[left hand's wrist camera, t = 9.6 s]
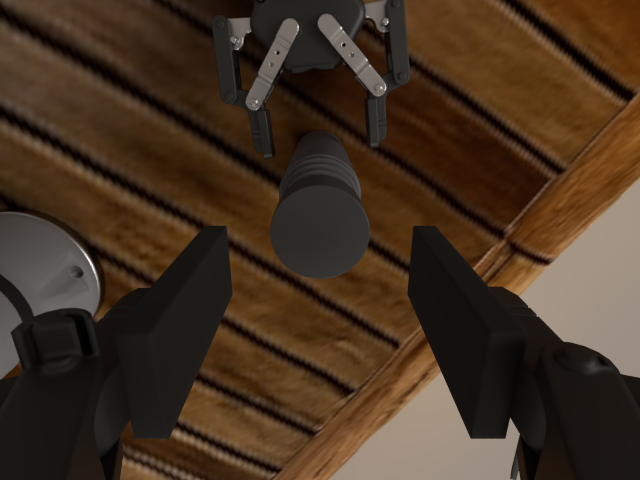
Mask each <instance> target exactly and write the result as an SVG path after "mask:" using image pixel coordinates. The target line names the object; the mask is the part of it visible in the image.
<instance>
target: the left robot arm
mask: <svg viewBox="0 0 640 480" xmlns="http://www.w3.org/2000/svg"><path fill="white" fill-rule="evenodd" d="M104 296H105V279H104V274H103V270H102V267H101V265H100V263H99V260H98V258H97V257H96V255H95V253H94V252H93V250H92V249H91V247H90V246H89V245H88V244H87V242H86V241H85V240H84V239H83V238H82V237H81V236H80V235H79V234H78V233H76V232H75V231H74V230H73V229H71V228H70V227H69V226H67V225H66V224H64V223H63V222H61V221H59V220H57V219H55V218H53V217H51V216H48V215H46V214H43V213H39V212H36V211H31V210H24V209H8V210H1V211H0V480H120V474H121V467H122V460H123V453H124V452H123V445H122V440H121V436H120V435H121V433H122V432H123V430H124V428H125V427H126V425H127V423H128V422H129V420H131V424H132V429H133V433H134V438H135V439H169V438H170V436H171V433H172V431H173V429H174V426H175V424H176V422H177V420H178V417H179V415H180V413H181V411H182V408H183V406H184V404H185V401H186V399H187V397H188V395H189V392H190V390H191V388H192V385H193V383H194V381H195V379H196V376H197V374H198V372H199V370H200V367H201V365H202V363H203V360H204V358H205V356H206V354H207V351H208V349H209V347H210V344H211V342H212V340H213V338H214V335H215V333H216V331H217V329H218V326H219V324H220V322H221V319H222V317H223V315H224V313H225V310H226V308H227V306H228V304H229V301H230V299H231V297H232V283H231V272H230V260H229V249H228V238H227V227H226V226H204V228H203V229H202V230H201V231H200V232H199V233H198V234H197V236H196V237H195V238H194V239H193V240H192V241H191V242H190V244H189V245H188V246H187V247H186V248H185V249H184V250H183V252H182V253H181V254H180V255H179V256H178V257H177V258H176V259H175V261H174V262H173V263H172V264H171V265H170V266H169V267H168V269H167V270H166V271H165V272H164V273H163V274H162V275H161V277H160V278H159V279H158V280H157V281H156V282H155V283H154V285H153V286H152V287H151V288H138V289H136V290H134V291H132V292H130V293H129V294H127V295H125V296H123V297H122V298H121V299H120V300H119V301H118V302H117V303H116V304H115V305H114V306H113V307H112V309H110V310H109V311H108V312H107V313H106V314H105V315H104V318H101V319H100V320H99V321H98V322H97V323H96V324H95V325H94V323H93V318H94V317H95V316H96V315H97V313H98V312H99V310H100V308H101V306H102V303H103V300H104ZM408 297H409V299H410V301H411V304H412V306H413V308H414V310H415V313H416V315H417V317H418V319H419V322H420V324H421V326H422V329H423V331H424V333H425V335H426V338H427V340H428V342H429V345H430V347H431V349H432V351H433V354H434V356H435V358H436V360H437V363H438V365H439V367H440V370H441V372H442V374H443V376H444V379H445V381H446V383H447V385H448V388H449V390H450V392H451V395H452V397H453V399H454V401H455V404H456V406H457V408H458V411H459V413H460V415H461V417H462V420H463V422H464V424H465V426H466V429H467V431H468V433H469V436H470V438H471V439H505V438H506V433H507V429H508V424H509V420H510V418H511V419H512V421H513V423H514V425H515V426H516V428H517V430H518V431H519V433H520V436H519V440H518V445H517V449H516V453H515V457H514V461H513V466H512V470H511V477H510V478H511V479H514V480H516V478H517V474H518V471H519V473H520V479H521V480H640V378H638V377H632V376H627V375H623V374H620V372H619V370H618V369H617V368H616V366H615V365H614V364H613V363H612V362H611V361H610V360H609V359H608V358H606V357H605V356H603V355H602V354H600V353H599V352H597V351H594V350H592V349H590V348H587V347H585V346H582V345H578V344H574V343H570V342H563V341H562V340H561V339H560V338H559V337H558V336H557V335H556V334H555V333H554V332H553V331H552V330H551V329H550V328H549V327H548V326H547V325H546V324H545V323H544V322H543V321H542V320H541V319H540V318H539V317H537V316H536V314H535V313H534V312H533V310H531V308H528V305H527V304H526V303H525V302H524V301H523V300H522V299H521V298H520V297H519V296H518V295H516V294H514V293H512V292H510V291H509V290H507V289H505V288H503V287H488V286H487V285H486V283H485V282H484V281H483V280H482V279H481V278H480V277H479V275H478V274H477V273H476V272H475V271H474V270H473V269H472V267H471V266H470V265H469V264H468V263H467V262H466V261H465V259H464V258H463V257H462V256H461V255H460V254H459V253H458V252H457V250H456V249H455V248H454V247H453V246H452V245H451V244H450V242H449V241H448V240H447V239H446V238H445V237H444V236H443V234H442V233H441V232H440V231H439V230H438V229H437V228H436V226H414V227H413V238H412V249H411V260H410V272H409V283H408ZM19 362H20V363H21V366H22V371H21V373H20V375H19V376H17V377H12V378H7V379H2V378H3V377H4V376H5V375H6V374H7V373H8V372H9V371H10V370H12V369H13V368H14V367H15V366H16V365H17V364H18V363H19ZM1 379H2V380H1Z"/></svg>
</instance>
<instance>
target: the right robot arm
mask: <svg viewBox="0 0 640 480" xmlns="http://www.w3.org/2000/svg"><path fill="white" fill-rule="evenodd" d="M365 20H369V21H371V22H372V23H373V25H374V28H375V30H376V32H377V33H379V34H384V38H385V49H386V59H387V69H388V73H387V74H385V75H383V76H381V77H380V76H379V75H378V73H377V72H376V71H375V70H374V69H373V67H372V66H371V65H370V63H369V61H368V60H367V59H366V57H365V56H364V55H363V54H362V52H361V51H360V50H359V49H358V47H357V46H356V45H355V44H354V43H353V42H354V41H355V39H356V37H357V35H358V33H359V31H360V30H361V28H362V26H363V24H364V22H365ZM212 31H213V38H214V46H215V54H216V62H217V70H218V78H219V86H220V94H221V99H222V100H223V102H225V103H227V104H232V105H236V106H240V107H243V108H244V109H246V110H247V112H248V114H249V119H250V125H251V131H252V137H253V143H254V147H255V149H256V151H257V152H263V155H264V159H270V158H274V156H275V148H274V141H273V134H272V128H271V121H270V114H269V110H266V106H265V104H266V102H267V100H268V98H269V97H270V95H271V93H272V91H273V89H274V87H275V86H276V84H277V83H278V81H279V79H280V77H281V75H282V73H283V71H284V70H285V71H287V72H289V73H292V74H294V75H295V74H304V73H306V72H308V71H311V70H319V71H329V70H333V69H335V68H337V67H338V66H339V65H340V64H341V63H342V64H343V65H344V66H345V68H346V69H347V70H348V71H349V72H350V73H351V75H352V76H353V77H355V79H356V80H357V81H358V82H359V83H360V84H361V86H362V87H363V88H364V89H365V90H366V92H367V99H365V115H366V131H367V144H368V147H369V148H376V147H379V140H380V139H385V136H386V133H387V130H386V107H385V98H386V95H387V94H388V93H389V92H390V91H391V90H393V89H395V88H397V87H399V86H401V85H404V84H406V83H407V82H408V81H409V79H410V68H409V55H408V43H407V31H406V18H405V6H404V0H381V1H376V2H371V3H366V4H364V3H363V1H362V0H253V11H252V14H251V17H250V18H234V19H227V18H226V17H224V16H223V15H216V16H215V17H214V18H213V20H212ZM250 34H253V35H254V36H255V38H256V39H257V40H258V41H259V42H260V43H261V45H262V46H263V47H264V48H265V49H266V50H267V52H268V54H267V56H266V58H265V60H264V62H263V64H262V66H261V68H260V70H259V72H258V74H257V78H256V80H255V82H254V84H253V86H252V88H251V90H250V92H249V91H246V90H242V86H241V76H240V67H239V58H238V51H241V50H243V49H244V47H245V44H246V38H247V36H248V35H250Z"/></svg>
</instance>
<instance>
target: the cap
mask: <svg viewBox="0 0 640 480" xmlns="http://www.w3.org/2000/svg"><path fill="white" fill-rule="evenodd" d="M270 236H271V242H272V246H273V248H274V251H275V253H276V254H277V256H278V258H279V259H280V260H281V262H282V263H283V264H284V265H285V266H286V267H288V268H289V269H290V270H292V271H294V272H295V273H297V274H299V275H302V276H305V277H308V278H314V279H325V278H331V277H335V276H338V275H341V274H343V273H345V272H347V271H348V270H350V269H351V268H352V267H353V266H355V265H356V264H357V263H358V262H359V260H360V259H361V258H362V256H363V255H364V253H365V251H366V248H367V246H368V242H369V236H370V227H369V221H368V218H367V215H366V212H365V210H364V207H363V205H362V202H361V200H360V198H359V196H358V195H357V193H356V192H355V191H354V190H353V188H352V187H350V186H349V185H348V184H347V183H345V182H344V181H342V180H340V179H338V178H335V177H332V176H327V175H313V176H308V177H305V178H302V179H300V180H298V181H296V182H295V183H293V184H292V185H291V186H290V187H289V188H287V190H286V191H285V192H284V193H283V195H282V196H281V198H280V200H279V202H278V205H277V207H276V210H275V213H274V215H273V218H272V222H271V228H270Z"/></svg>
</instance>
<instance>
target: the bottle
mask: <svg viewBox="0 0 640 480" xmlns="http://www.w3.org/2000/svg"><path fill="white" fill-rule="evenodd" d="M313 175H327V176H332V177H335V178H338V179H340V180H342V181H344V182H345V183H347V184H348V185H349V186H350V187H352V188H353V190H354V191H355V192H356V193H357V195H358V196H359V198H360V200H361V188H360V183H359V180H358V178H357V176H356V173H355V171H354V169H353V167H352V165H351V162H350V160H349V158H348V156H347V154H346V151H345V149H344V147H343V145H342V143H341V141H340V140H339V139H338V138H337V137H336V136H335V135H334V134H332V133H330V132H328V131H323V130H317V131H312V132H310V133H308V134H306V135H305V136H304V137H303V138H302V139H301V140H300V141H299V143H298V145H297V147H296V149H295V151H294V154H293V156H292V158H291V160H290V162H289V165H288V167H287V169H286V171H285V173H284V176H283V178H282V180H281V184H280V188H279V200H280V198H281V196H282V195H283V193H284V192H285V191H286V190H287V188H289V187H290V186H291V185H292V184H293V183H295V182H296V181H298V180H300V179H302V178H305V177H308V176H313Z"/></svg>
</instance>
